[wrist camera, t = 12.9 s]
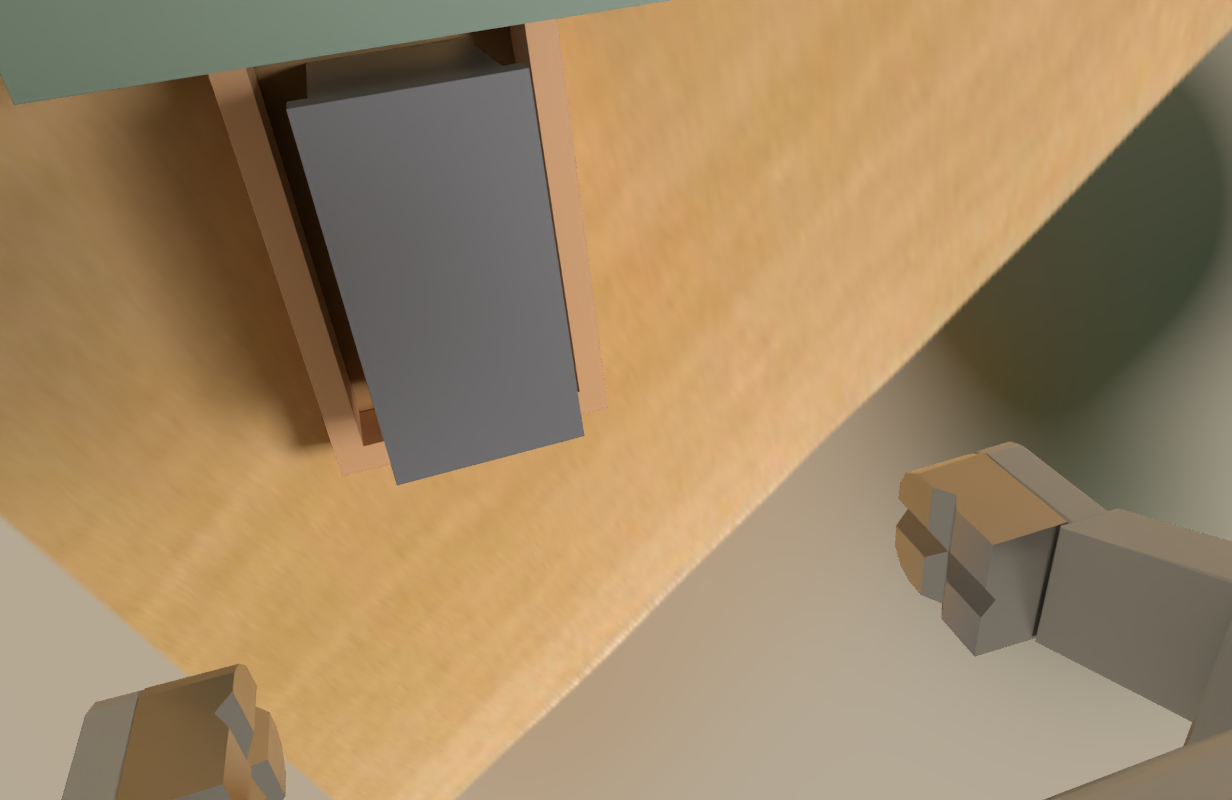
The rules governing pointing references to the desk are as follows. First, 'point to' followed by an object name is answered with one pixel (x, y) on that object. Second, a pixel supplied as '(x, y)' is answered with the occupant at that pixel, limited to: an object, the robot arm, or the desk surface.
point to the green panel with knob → (227, 51)
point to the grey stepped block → (442, 250)
